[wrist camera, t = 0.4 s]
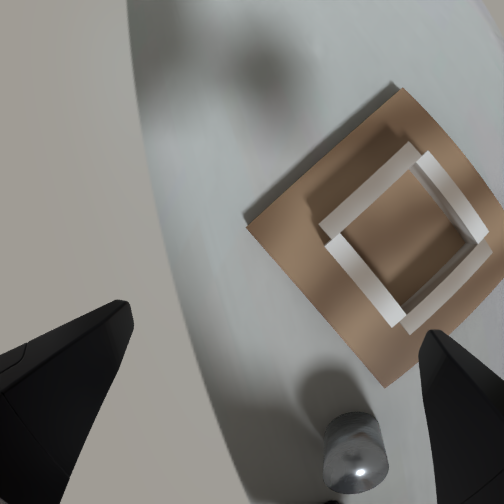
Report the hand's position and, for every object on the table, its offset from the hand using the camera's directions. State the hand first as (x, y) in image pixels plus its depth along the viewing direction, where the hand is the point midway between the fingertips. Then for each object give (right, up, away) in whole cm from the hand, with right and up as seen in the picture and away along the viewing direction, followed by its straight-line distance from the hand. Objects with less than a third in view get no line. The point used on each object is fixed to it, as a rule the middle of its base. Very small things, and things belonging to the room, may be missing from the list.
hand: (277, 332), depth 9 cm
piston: (+7, -12, +13) cm, 19 cm away
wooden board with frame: (+9, +3, +11) cm, 15 cm away
